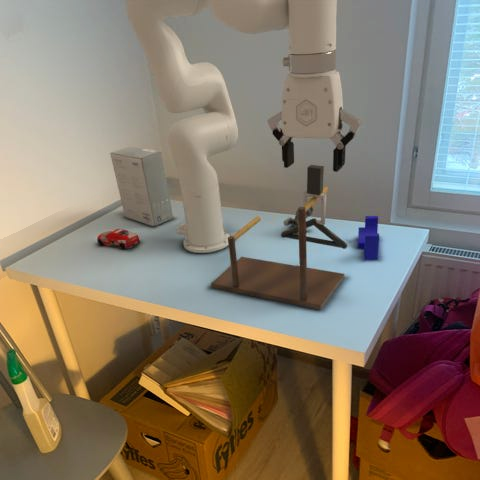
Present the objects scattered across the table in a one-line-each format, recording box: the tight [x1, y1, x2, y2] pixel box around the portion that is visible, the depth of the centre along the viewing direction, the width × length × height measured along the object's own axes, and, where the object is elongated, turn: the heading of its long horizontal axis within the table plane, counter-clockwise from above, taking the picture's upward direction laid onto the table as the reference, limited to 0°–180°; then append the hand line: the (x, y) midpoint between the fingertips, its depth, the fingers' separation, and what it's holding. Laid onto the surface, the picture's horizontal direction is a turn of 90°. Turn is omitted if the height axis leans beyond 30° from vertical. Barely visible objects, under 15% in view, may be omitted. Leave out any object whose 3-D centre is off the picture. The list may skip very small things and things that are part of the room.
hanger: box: [280, 164, 348, 250], centre depth 95 cm, size 14×2×15 cm, turn 60°
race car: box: [96, 228, 141, 250], centre depth 134 cm, size 13×5×4 cm, turn 60°
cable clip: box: [357, 215, 380, 261], centre depth 118 cm, size 12×4×6 cm, turn 168°
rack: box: [210, 186, 345, 311], centre depth 103 cm, size 26×14×21 cm, turn 60°
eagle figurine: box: [283, 206, 314, 235], centre depth 130 cm, size 8×7×9 cm
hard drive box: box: [109, 146, 174, 227], centre depth 145 cm, size 16×8×20 cm, turn 46°
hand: (312, 167), depth 91 cm, fingers open, 9 cm apart
